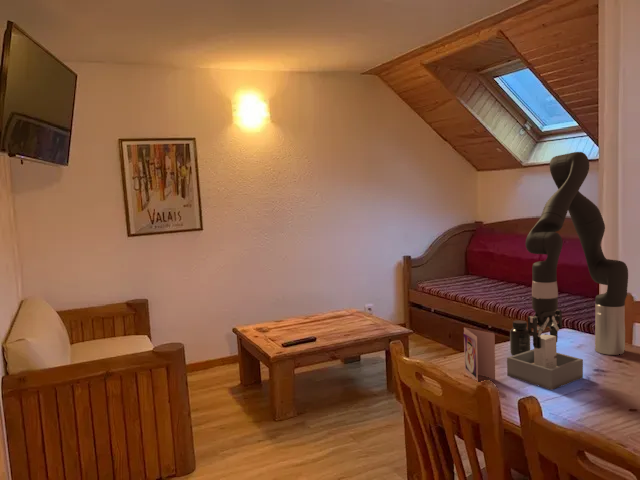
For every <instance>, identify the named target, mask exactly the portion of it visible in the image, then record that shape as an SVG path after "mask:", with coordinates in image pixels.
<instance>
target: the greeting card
mask: <svg viewBox="0 0 640 480" xmlns="http://www.w3.org/2000/svg"><path fill="white" fill-rule="evenodd" d="M462 335H463V346H464V348H463V350H464V351H463V352H464V354H463V355H464V356H463V357H464V372H465V373H466V374H467V375H468V376H469V377H470V378H471V377H472V378H471V379H472V380H474V379H475V380H477V381H478V382H479V379H478V378H479V376H480V375H482V376H481V377H484V376H486V377H485V378H488V377H489V378H488V379H491V380H492V379H493V380H496V349H495V347H496V345H495V344H496V343H495V340H496V339H495V338H496V337H495V336H496V335H495V333H494V332H489V331H483V330H479V329H474V328H469V327H463V333H462ZM475 380H474V381H475Z"/></svg>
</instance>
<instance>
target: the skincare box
mask: <svg viewBox="0 0 640 480" xmlns="http://www.w3.org/2000/svg"><path fill="white" fill-rule="evenodd" d="M540 337H541V348H539V349H538V348H534V347H533V349H534V364H535V365H539V366H542V367H545V368H549V369H552V368H555V367H557V355H556V353H557V342H556V336H553V335H550V334H547V333H544V334H541V336H540Z"/></svg>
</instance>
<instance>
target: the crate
mask: <svg viewBox="0 0 640 480" xmlns="http://www.w3.org/2000/svg"><path fill="white" fill-rule="evenodd" d="M556 355H557V367H555V368H552V369H549V368H545V367H542V366H539V365H535V364H534V348H533V349H530V350H529V351H526V352H523V353H520V354H517V355H510V356H508V357H506V368H507V369H506V371H507V374H506V375H507V377H511V378H514V379H517V380H520V381H522V382H525V381H526V383H529V384H532V385H536V386H538V385H539V387H542V388H544V389H547V390H550V391H553V390H555V389H558V388H561V387H564V386H565V385H568V384H572V383H573V382H575V381H579V380H581V379H583V378H584V359H582V358H578V357H576V356H570V355H567V354H563V353H560V352H556Z"/></svg>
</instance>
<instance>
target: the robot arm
mask: <svg viewBox="0 0 640 480" xmlns="http://www.w3.org/2000/svg"><path fill="white" fill-rule="evenodd" d="M549 161H550V162H549V171H550V174H551V178H552V179H553V181H554V184H555V186H556V187H557V190H556V191H555V192H554V193H553V194H552V195H551V196H550V197H549V199H548V200H547V201H546V202H545V205H544V207H543V209H542V213H541V215H540V218H539V220H538V221H537V222H536V223H535V225H534V226H533V227H532V228H531V230H530V231H529V233H527V236H526V238H525V248H526V251H528V253H530V254H535V255H546V259H545V260H541V261H540V260H539V261H536V262H534V263H532V271H531V272H532V273H531V274H532V285H531V306H532V307H531V308H532V310H534V313H535V314H534V315H533V316H532V315H528V317H527V329H528V335H530V336H532V345H533V346H532V347H533V349H534V348H538V349H539V348H541V337H540V336H541V335H542V333H543V332H544V331H545V329H546V328H549V335H553V336H556V343H558V338H559V337H558V333H559V330H560V329H562V328H563V313H562V310H561V309H559V294H558V293H559V287H558V279H557V276H558V275H557V274H558V273H557V268H558V263H559V258H560V255H561V252H562V249H563V248H562V247H563V243H564V242H563V238H562V236H561V234H559V231H560V230H562V228H563V227H564V223H565V219H566V216H567V213H568V214H569V217H570V220H571V222H572V224H573V227H574V229H575V232H576V234H577V236H578V239H579V242H580V244H581V248H582V250H583V253H584V257H585V261H586V264H587V268H588V272H589V275H590V277H591V279H592V280H593V282H594V283H597V284H599V285H604V286H607V289H606V292H604V293H601V294H600V293H599V294H597V295H596V296H595V299H594V301H595V303H594V304H595V320H594V321H595V324H594V325H595V327H594V330H595V331H594V335H595V339H594V341H595V342H594V345H595V346H594V347H595V348H594V350H595V351H596V352H597V353H599V354H602V355H603V354H604V355H609V356H615V355H616V356H619V354H620V355H623V354H624V353H625V351H624V350H626V346H625V345H626V324H625V320H626V319H625V317H626V316H625V312H626V311H625V309H626V307H625V306H626V299H627V296H628V283H629V269H628V265H627V264H626V262H624V261H622V260H617V259H609V258H606V256H605V254H604V252H603V249H602V240H603V238H604V234H605V231H606V225H605V221H604V218H603V216H602V213H601V211H600V208H599V207H598V206H597V205H596V204H595V203H594V202H593V201H592V200H590V199H589V198H588V197H587V196H585V195H584V194H582V193H581V192H580V189H581V187H582V186H583V183H584V181H586V179H587V176H588V173H589V171H590V161H589V158H588V156H587V154H586V153H584V152H582V151H574V152H568V153H565V154H559V155H556V156H553V157H552V158H551V159H550V160H549Z"/></svg>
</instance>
